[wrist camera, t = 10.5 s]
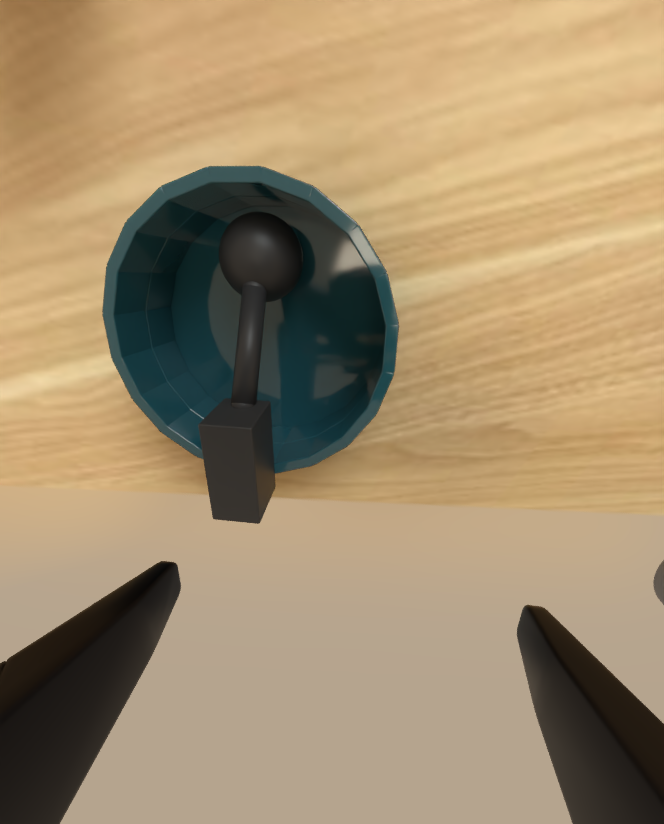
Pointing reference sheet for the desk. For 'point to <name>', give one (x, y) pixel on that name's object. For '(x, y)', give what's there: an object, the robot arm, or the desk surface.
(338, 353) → the bowl
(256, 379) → the ladle
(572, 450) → the desk surface
